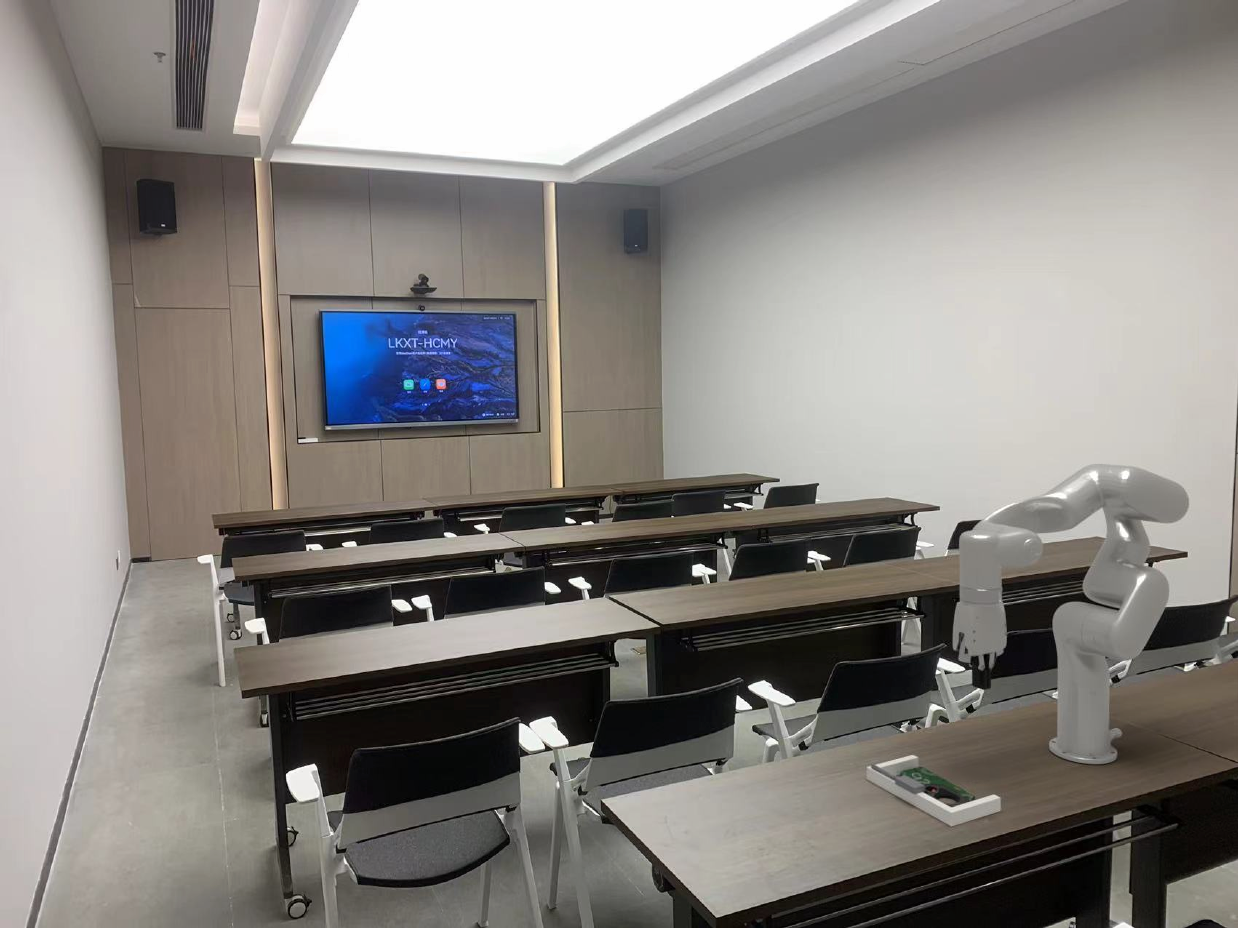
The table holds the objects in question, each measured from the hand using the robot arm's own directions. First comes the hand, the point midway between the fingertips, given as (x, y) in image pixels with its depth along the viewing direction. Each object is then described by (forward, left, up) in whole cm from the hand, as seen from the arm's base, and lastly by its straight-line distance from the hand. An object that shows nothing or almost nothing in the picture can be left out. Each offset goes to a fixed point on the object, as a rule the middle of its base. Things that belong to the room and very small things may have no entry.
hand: (981, 687), depth 173 cm
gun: (+12, -1, -19) cm, 23 cm away
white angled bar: (+13, 0, -19) cm, 23 cm away
